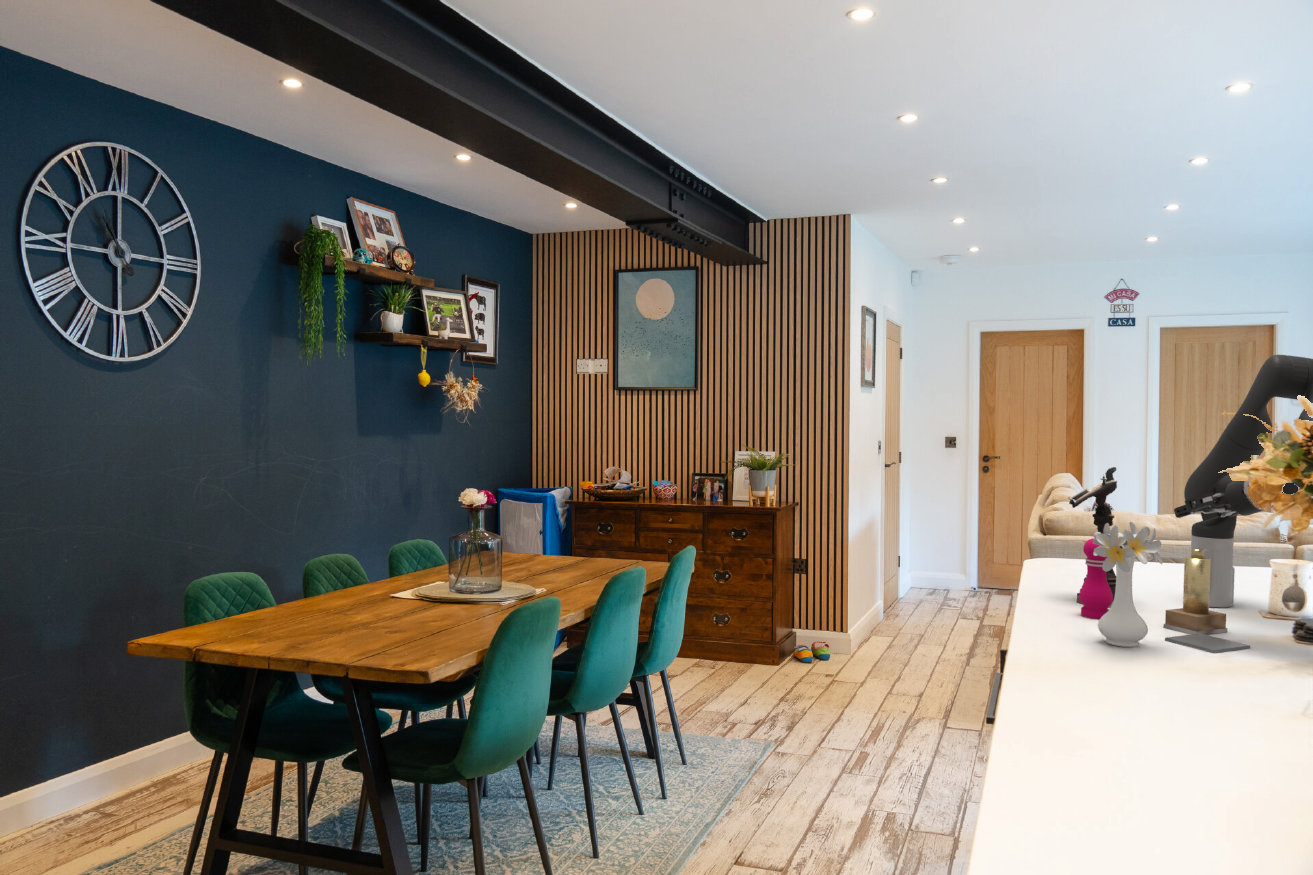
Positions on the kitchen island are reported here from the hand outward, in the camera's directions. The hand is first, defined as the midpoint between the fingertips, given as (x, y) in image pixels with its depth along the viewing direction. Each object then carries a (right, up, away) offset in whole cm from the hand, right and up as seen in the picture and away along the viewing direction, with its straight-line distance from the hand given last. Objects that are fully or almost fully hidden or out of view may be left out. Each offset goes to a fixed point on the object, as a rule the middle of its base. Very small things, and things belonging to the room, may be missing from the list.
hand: (1189, 515), depth 207 cm
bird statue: (-8, -25, +30) cm, 40 cm away
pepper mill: (-14, -25, +14) cm, 32 cm away
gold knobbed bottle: (+2, -22, +2) cm, 22 cm away
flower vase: (-21, -26, -13) cm, 36 cm away
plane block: (+2, -26, +2) cm, 26 cm away
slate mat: (-3, -26, -11) cm, 29 cm away
